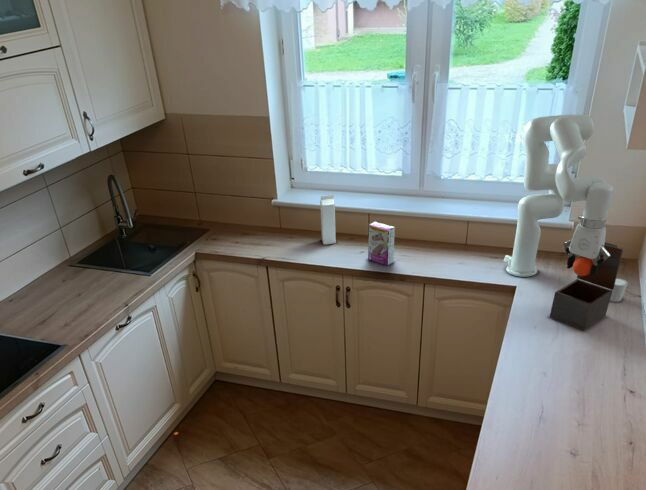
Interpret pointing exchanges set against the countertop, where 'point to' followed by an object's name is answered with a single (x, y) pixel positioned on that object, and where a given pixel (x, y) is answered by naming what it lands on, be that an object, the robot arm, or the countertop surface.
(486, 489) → the countertop surface
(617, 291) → the shot glass
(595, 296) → the chest
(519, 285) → the countertop surface
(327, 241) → the milk
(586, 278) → the lid
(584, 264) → the clementine
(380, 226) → the candy bar box
